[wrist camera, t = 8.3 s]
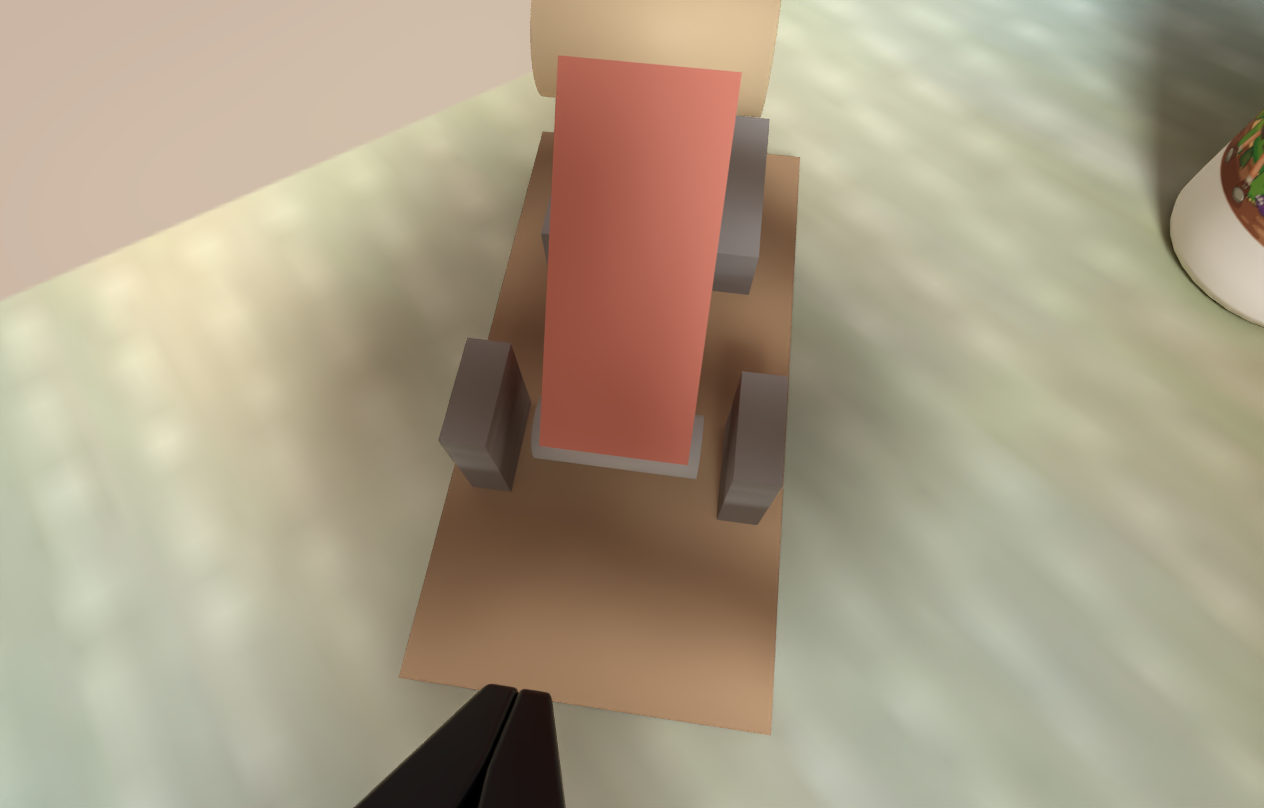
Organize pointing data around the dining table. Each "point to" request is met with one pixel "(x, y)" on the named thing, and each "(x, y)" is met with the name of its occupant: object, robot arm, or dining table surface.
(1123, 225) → the dining table surface
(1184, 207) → the milk bottle
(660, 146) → the lever
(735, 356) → the base
